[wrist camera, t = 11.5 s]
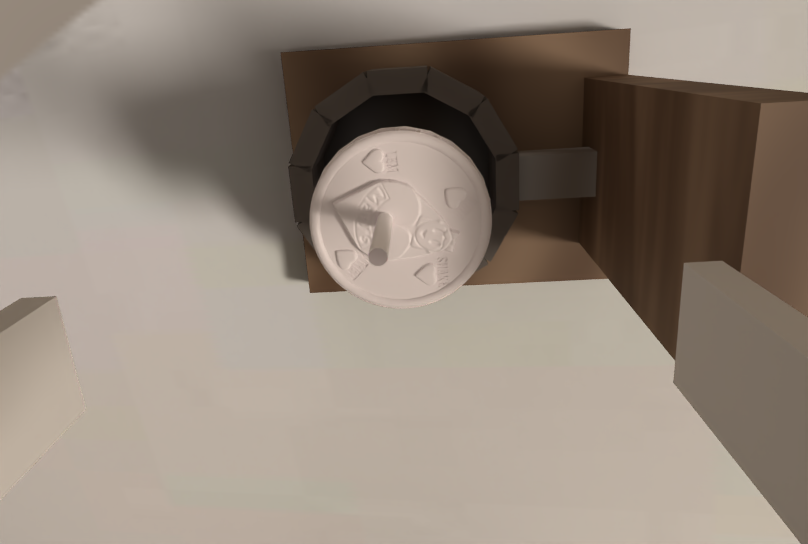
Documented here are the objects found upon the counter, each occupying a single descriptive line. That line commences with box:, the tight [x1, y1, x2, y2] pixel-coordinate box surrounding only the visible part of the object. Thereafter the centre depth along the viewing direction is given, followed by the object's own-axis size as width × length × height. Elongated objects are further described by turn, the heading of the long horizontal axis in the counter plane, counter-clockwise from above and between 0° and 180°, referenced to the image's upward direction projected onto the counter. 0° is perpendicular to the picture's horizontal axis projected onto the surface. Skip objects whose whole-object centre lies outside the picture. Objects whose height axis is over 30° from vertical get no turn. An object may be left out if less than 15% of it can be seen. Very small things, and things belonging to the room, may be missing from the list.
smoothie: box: [309, 126, 492, 308], centre depth 24 cm, size 6×6×14 cm
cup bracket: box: [281, 28, 808, 360], centre depth 23 cm, size 16×12×18 cm
